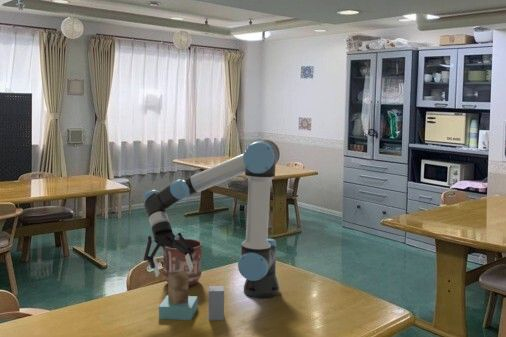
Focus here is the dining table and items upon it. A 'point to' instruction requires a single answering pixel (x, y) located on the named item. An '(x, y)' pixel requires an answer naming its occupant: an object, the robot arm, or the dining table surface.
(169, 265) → the pottery
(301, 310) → the dining table surface
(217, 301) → the slate block
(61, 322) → the dining table surface
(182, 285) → the walnut block
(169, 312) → the teal base block
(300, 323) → the dining table surface
